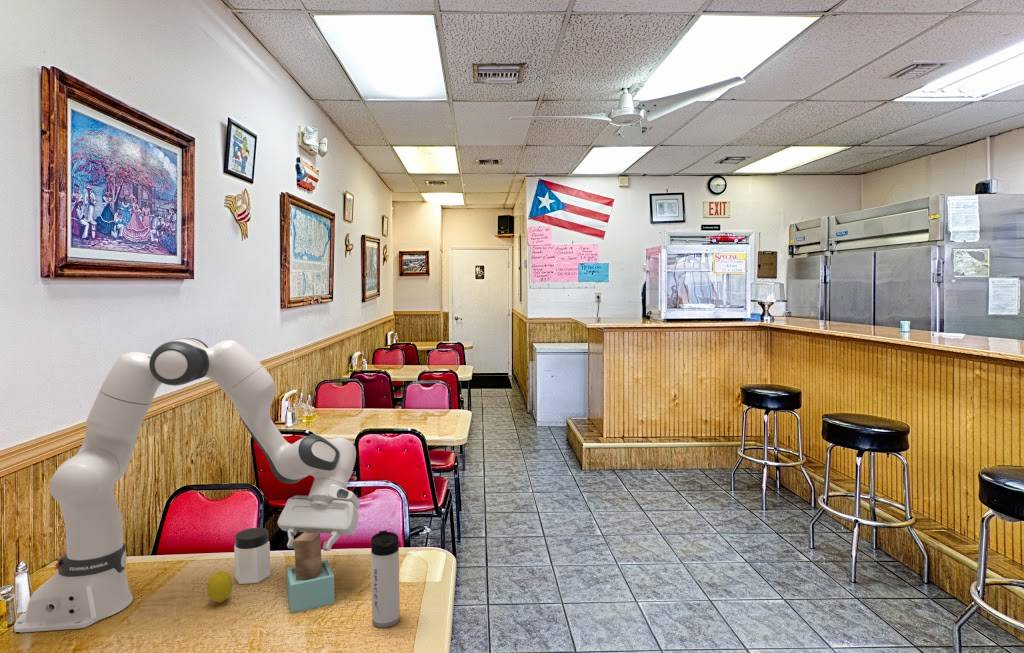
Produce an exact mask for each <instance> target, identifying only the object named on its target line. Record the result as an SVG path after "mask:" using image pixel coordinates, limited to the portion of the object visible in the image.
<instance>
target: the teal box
mask: <svg viewBox="0 0 1024 653" xmlns="http://www.w3.org/2000/svg"><path fill="white" fill-rule="evenodd" d="M329 562H330V561H329V560H328V559H325V560H322V572H321V573H320V574H319V575H318V576H317V577H316V578H315V579H310V580H296V569H295V566H290V567H286V593H287V594H286V595H287V599H288V603H289V608H290V609H289V610H290V613H291V614H294V613H298V612H299V611H300V612H304V611H308V610H312V609H316V608H319V607H325V606H328V604H330V605H333V604H332V603H334V604H335V575H334V572H333V569H332V568H331V565H330V563H329ZM300 612H299V613H300Z"/></svg>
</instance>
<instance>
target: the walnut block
mask: <svg viewBox="0 0 1024 653" xmlns="http://www.w3.org/2000/svg"><path fill="white" fill-rule="evenodd" d="M321 538H322V536H321V533H310V532H302V533H301V534H300V535H299V536H298V537H296V538H294V539H295V540H294V548H295V549H294V561H295V562H294V567H295V569H296V580H310V579H315V578H316V577H317V576H318V575H319V574H320V573H321V572H322V561H323V560H322V559H323V558H322V543H321V542H322V541H321V540H322V539H321Z"/></svg>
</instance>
